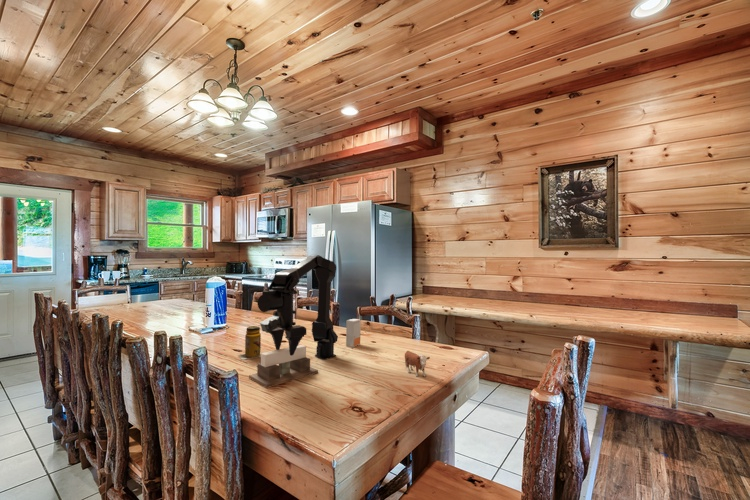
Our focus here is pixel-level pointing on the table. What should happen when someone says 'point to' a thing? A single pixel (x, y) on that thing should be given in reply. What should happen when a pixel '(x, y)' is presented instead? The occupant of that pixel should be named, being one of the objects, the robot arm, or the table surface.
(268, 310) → the robot arm
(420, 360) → the bull figurine
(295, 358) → the frame bar
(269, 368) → the display stand
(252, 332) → the condiment
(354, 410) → the table surface
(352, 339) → the skincare box
